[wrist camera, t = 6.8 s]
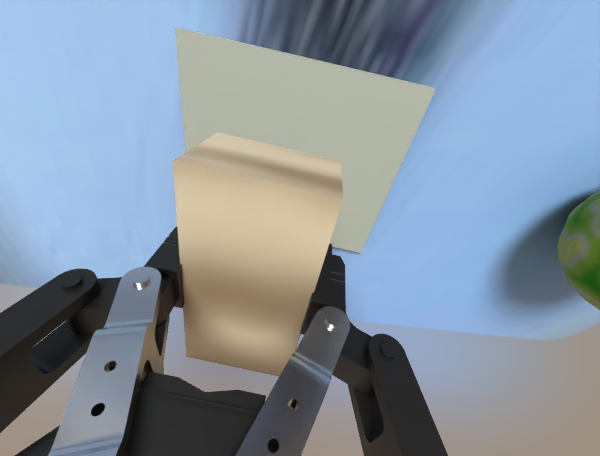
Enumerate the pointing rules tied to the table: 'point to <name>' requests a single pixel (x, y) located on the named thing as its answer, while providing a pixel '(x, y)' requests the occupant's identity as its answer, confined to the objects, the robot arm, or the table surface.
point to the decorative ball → (582, 249)
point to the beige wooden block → (251, 246)
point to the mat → (304, 115)
